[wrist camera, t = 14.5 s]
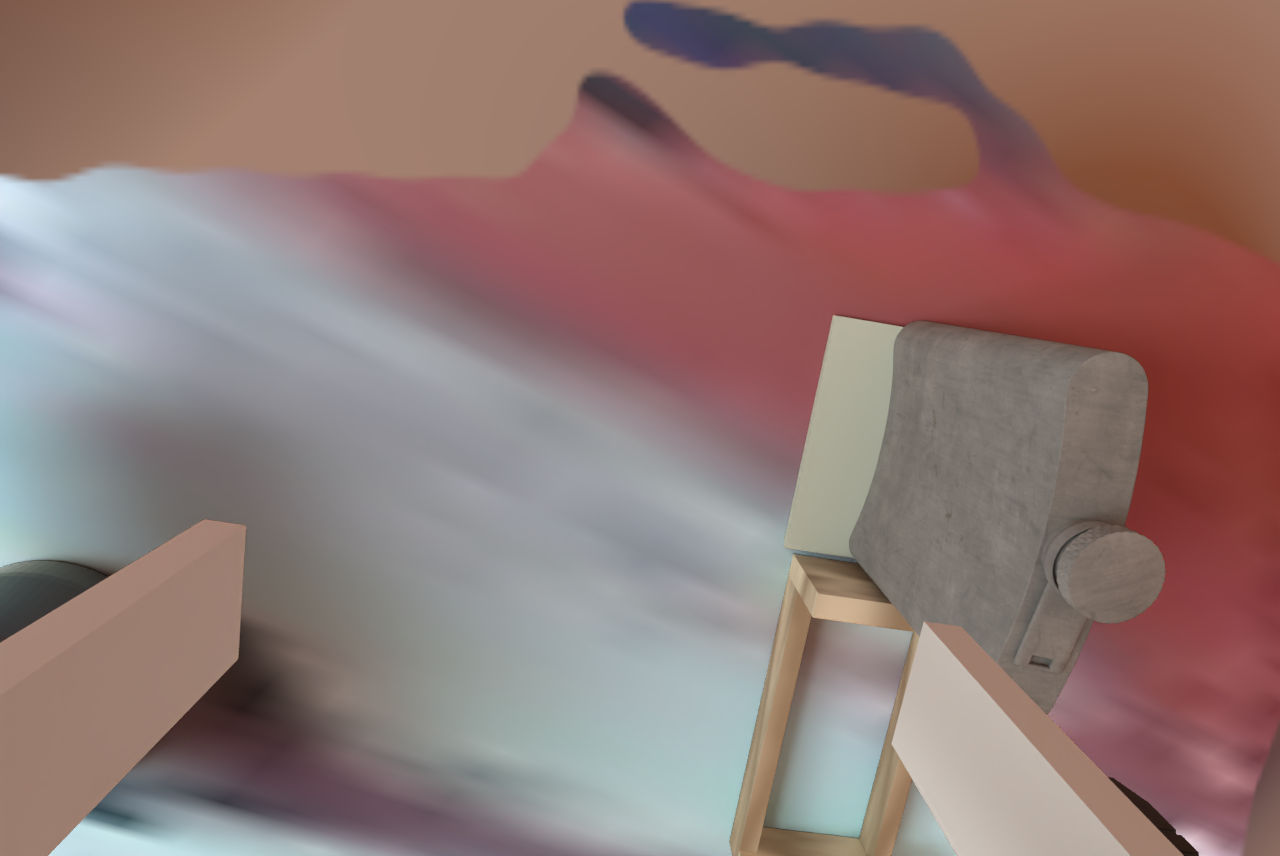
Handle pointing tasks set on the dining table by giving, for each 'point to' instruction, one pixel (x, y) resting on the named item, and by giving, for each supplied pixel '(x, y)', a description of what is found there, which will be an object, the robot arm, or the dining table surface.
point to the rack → (807, 593)
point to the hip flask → (1010, 496)
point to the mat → (843, 436)
